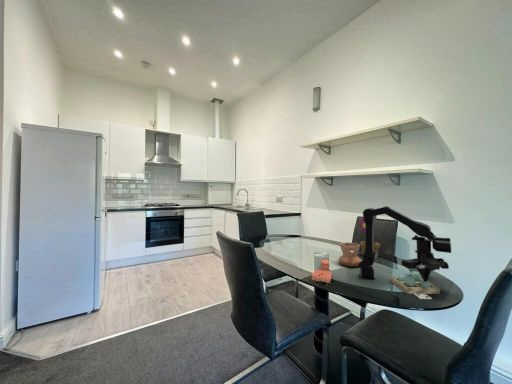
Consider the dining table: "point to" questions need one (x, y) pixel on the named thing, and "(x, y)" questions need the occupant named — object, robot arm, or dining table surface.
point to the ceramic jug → (349, 254)
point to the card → (422, 296)
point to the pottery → (323, 272)
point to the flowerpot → (362, 243)
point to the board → (417, 288)
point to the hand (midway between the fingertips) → (424, 281)
